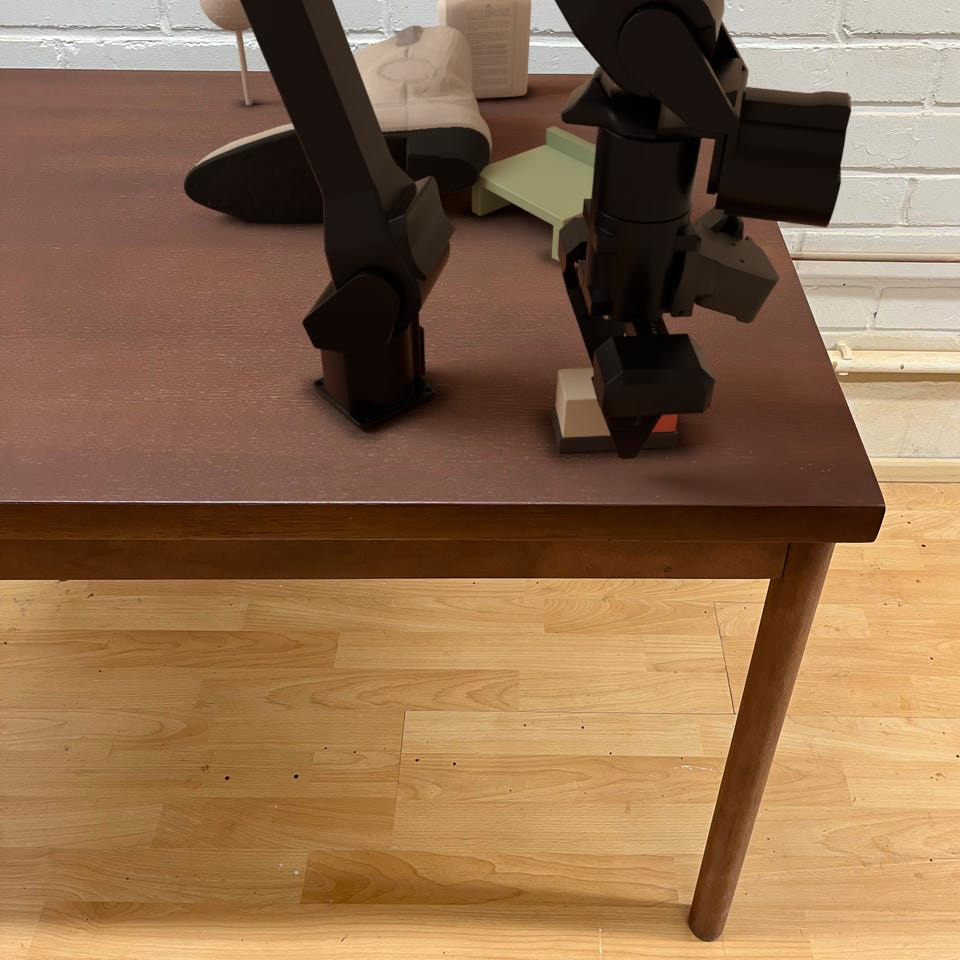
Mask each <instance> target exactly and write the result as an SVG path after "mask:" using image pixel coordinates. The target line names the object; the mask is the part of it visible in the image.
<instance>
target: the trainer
mask: <svg viewBox="0 0 960 960" xmlns="http://www.w3.org/2000/svg"><path fill="white" fill-rule="evenodd" d="M592 376H594V374H593V367H581V368H579V367H578V368H561V369H560V368H559V369H558V371H557V382H556V395H555V396H556V397H555V406H551V418H550V419H551V424H552V429H553V435H554V438H555V443H556V447H557V451H558V453H559V454H567V453H568V454H569V453H584V452H585V453H587V452H605V451H616V448H615V446H614V443H613V440H612V437H611V435H610V432H609V429H608V427H607V424H606V422H605V419H604V417H603V414H602V411H601V409H600V407H599V405H598V402H597V398H596V395H595V391H594V387H593V384H592V380H591V377H592ZM678 415H679V414H672V415H663V416H662V417H661V418H660V420H659V421H658V422H657V424H656V426H655V427H654V429H653V430H652V432H651V434H650V435H649V437H648V439H647V440H646V442H645V443H644V445H643V447H642V448H641V450H644V449H645V450H647V449H665V448H666V449H667V448H669V449H670V448H676V447H677V444H678V439H679V431H678V428H677V421H678Z"/></svg>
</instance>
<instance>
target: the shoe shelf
mask: <svg viewBox="0 0 960 960" xmlns="http://www.w3.org/2000/svg"><path fill="white" fill-rule="evenodd" d="M545 136H546V137H545V144H543V145H540V146H538V147H535V148H532V149H529V150H526V151H524V152H521V153H518V154H515V155H512V156H510V157H506V158H504V159H501V160H498V161H496V162H495V161H494V162H493V163H489V164H488V165H487V166H485V167H484V168H483V170H482V171H481V173H480V174H479V177H478V179H477V181H476V182H475V183H474V185H473V186H471V212H472V213H474V214H475V215H477V216H479V217H482V216H484V215H487V214H489V213H492V212H494V211H497V210H500V209H502V208H505V207H507V206H509V205H510V206H511V205H512V204H513V205H515V206H517V207H519V208H521V209H522V210H524V211H526V212H527V213H530V214H532V215H534V216H536V217H537V218H539V219H541V220H542V221H544V222H546V223H548V224H550V225H552V227H553V228H552V243H551V244H552V245H551V258H552V259H554V260H555V261H557V262H558V263H560V261H559V258H558V241H559V230H560V229H561V228H562V227H563V226H565V225H566V224H567V223H568V222H569V221H570V220H571V219H572V218H574V217H583V202H584V199H591V195H592V184H593V172H594V161H595V149H596V144H594V143H592V142H589V141H588V140H585V139H583V138H581V137H579V136H577V135H575V134H572V133H570V132H568V131H566V130H563V129H562V128H559V127H557V126H555V125H554V126H551V127H548V128H546V135H545Z"/></svg>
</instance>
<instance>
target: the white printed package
mask: <svg viewBox="0 0 960 960" xmlns="http://www.w3.org/2000/svg"><path fill="white" fill-rule="evenodd" d="M436 6H437V10H436V11H437V13H436V14H437V15H436V16H437V26H448V27H452V28H455V29H457V30H459V31H460V32H461V33H462V34H463V35H464V36H465V37H466V39H467V40H468V42H469V45H470V50H471V57H472V78H473V94H474V97H475V99H476V100H477V99H478V100H479V99H492V98H493V99H494V98H508V97H509V98H511V97H521V96H523V97H524V96H525V95H526V94H527V92H528V78H529V77H528V75H529V59H530V58H529V57H530V38H531V21H532V20H531V19H532V0H438V1H437V5H436Z"/></svg>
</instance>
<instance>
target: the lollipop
mask: <svg viewBox="0 0 960 960" xmlns="http://www.w3.org/2000/svg"><path fill="white" fill-rule="evenodd" d="M198 2H199V5H200V9H201V10H202V12H203V13H204V15H205V16H206V17H207V19H208V20H209V21H211V22H212V23H213V24H214V25H216V26H217V27H219V28H221V29H222V30H225V31H229V32H235V38H236V45H237V51H238V59H239V66H240V72H241V78H242V87H243V93H244V100H245V105H246V106H252V105H253V100H252V99H253V98H252V92H251V84H250V79H249V71H248V65H247V57H246V50H245V43H244V37H243V32H244V31H247V30H250V29H252V28H251V26H250V24H249V21H248V19H247V17H246V14H245V12H244V10H243V7H242V5H241V3H240V0H198Z"/></svg>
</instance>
